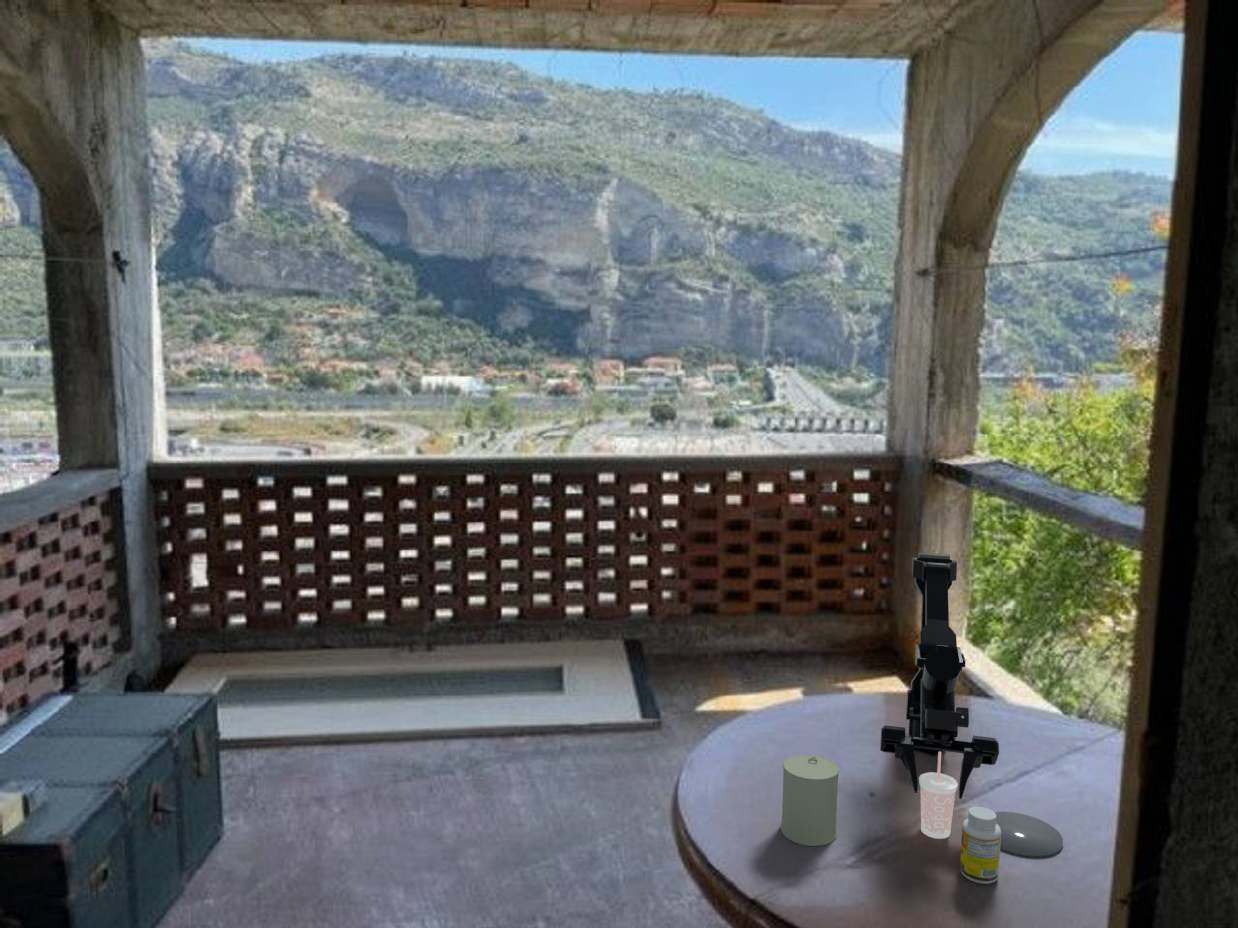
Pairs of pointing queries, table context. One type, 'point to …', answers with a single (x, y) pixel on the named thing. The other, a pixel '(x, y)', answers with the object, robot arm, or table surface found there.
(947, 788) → the beverage cup
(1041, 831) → the coaster
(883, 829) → the table surface
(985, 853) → the supplement bottle
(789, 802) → the can
